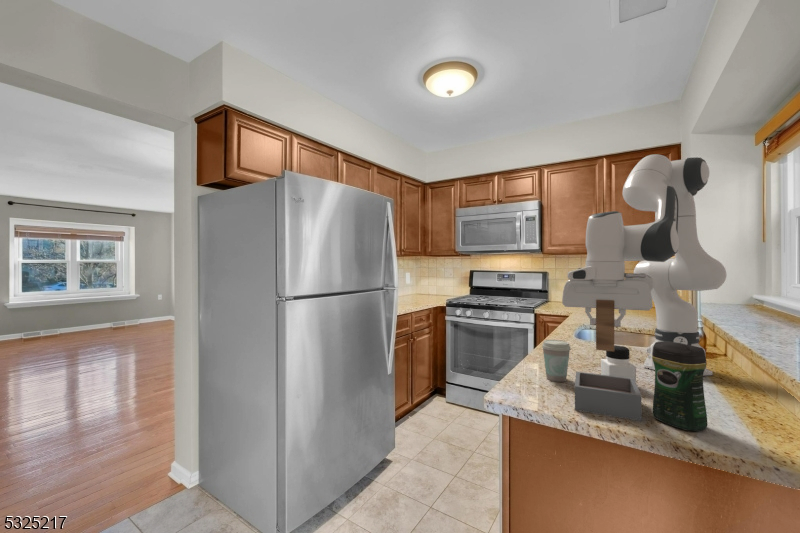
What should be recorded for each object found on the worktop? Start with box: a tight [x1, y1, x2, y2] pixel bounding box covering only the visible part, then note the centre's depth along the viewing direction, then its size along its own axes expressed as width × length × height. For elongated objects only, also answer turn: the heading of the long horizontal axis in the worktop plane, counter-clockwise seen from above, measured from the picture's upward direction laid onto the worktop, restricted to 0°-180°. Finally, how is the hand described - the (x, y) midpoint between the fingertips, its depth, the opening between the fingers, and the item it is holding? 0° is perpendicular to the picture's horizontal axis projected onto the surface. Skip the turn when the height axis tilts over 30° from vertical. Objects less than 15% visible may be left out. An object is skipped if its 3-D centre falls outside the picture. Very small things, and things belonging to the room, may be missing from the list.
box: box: [574, 371, 642, 422], centre depth 91 cm, size 14×14×6 cm
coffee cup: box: [541, 339, 572, 383], centre depth 112 cm, size 8×8×12 cm
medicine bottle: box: [600, 344, 637, 383], centre depth 105 cm, size 7×7×12 cm
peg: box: [595, 300, 615, 352], centre depth 90 cm, size 4×4×13 cm
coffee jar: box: [652, 341, 708, 432], centre depth 80 cm, size 10×8×19 cm
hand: (604, 325), depth 91 cm, fingers closed on peg, 4 cm apart
